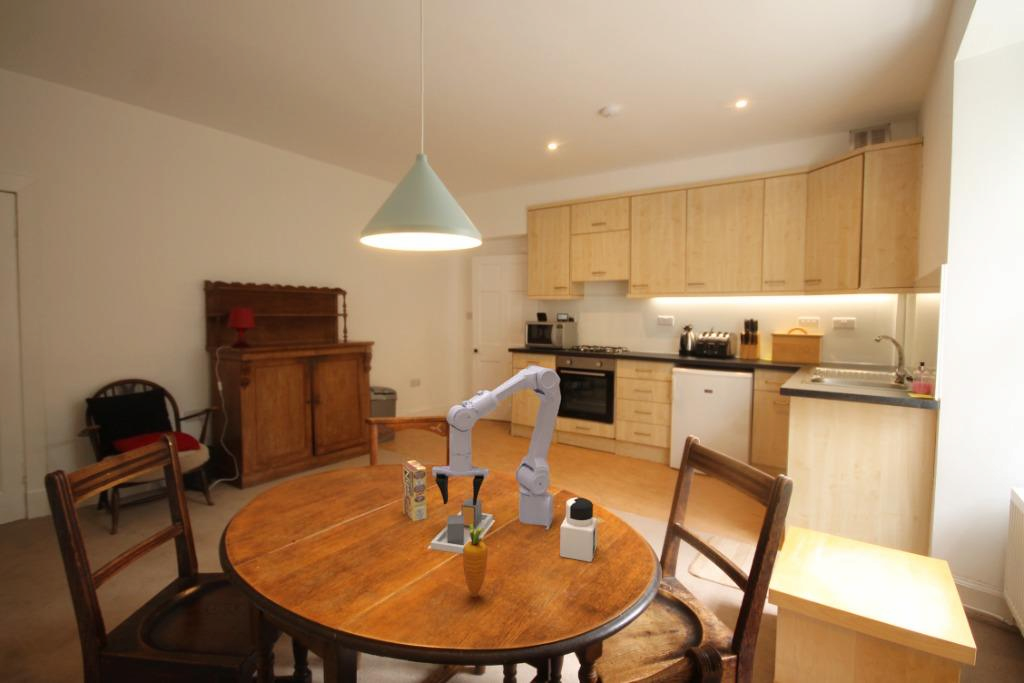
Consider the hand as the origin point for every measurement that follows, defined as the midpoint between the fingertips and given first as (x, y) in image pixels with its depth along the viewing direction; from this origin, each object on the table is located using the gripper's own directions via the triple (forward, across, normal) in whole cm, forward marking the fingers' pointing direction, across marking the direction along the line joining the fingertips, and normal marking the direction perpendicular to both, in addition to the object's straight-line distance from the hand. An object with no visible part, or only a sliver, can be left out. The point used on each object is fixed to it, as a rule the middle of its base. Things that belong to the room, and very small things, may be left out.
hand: (460, 503), depth 122 cm
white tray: (+9, -1, 0) cm, 9 cm away
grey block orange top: (+8, 0, +6) cm, 10 cm away
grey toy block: (+8, -2, -6) cm, 10 cm away
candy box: (+9, +15, -10) cm, 21 cm away
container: (+9, -30, +5) cm, 32 cm away
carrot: (+9, -8, +26) cm, 29 cm away
